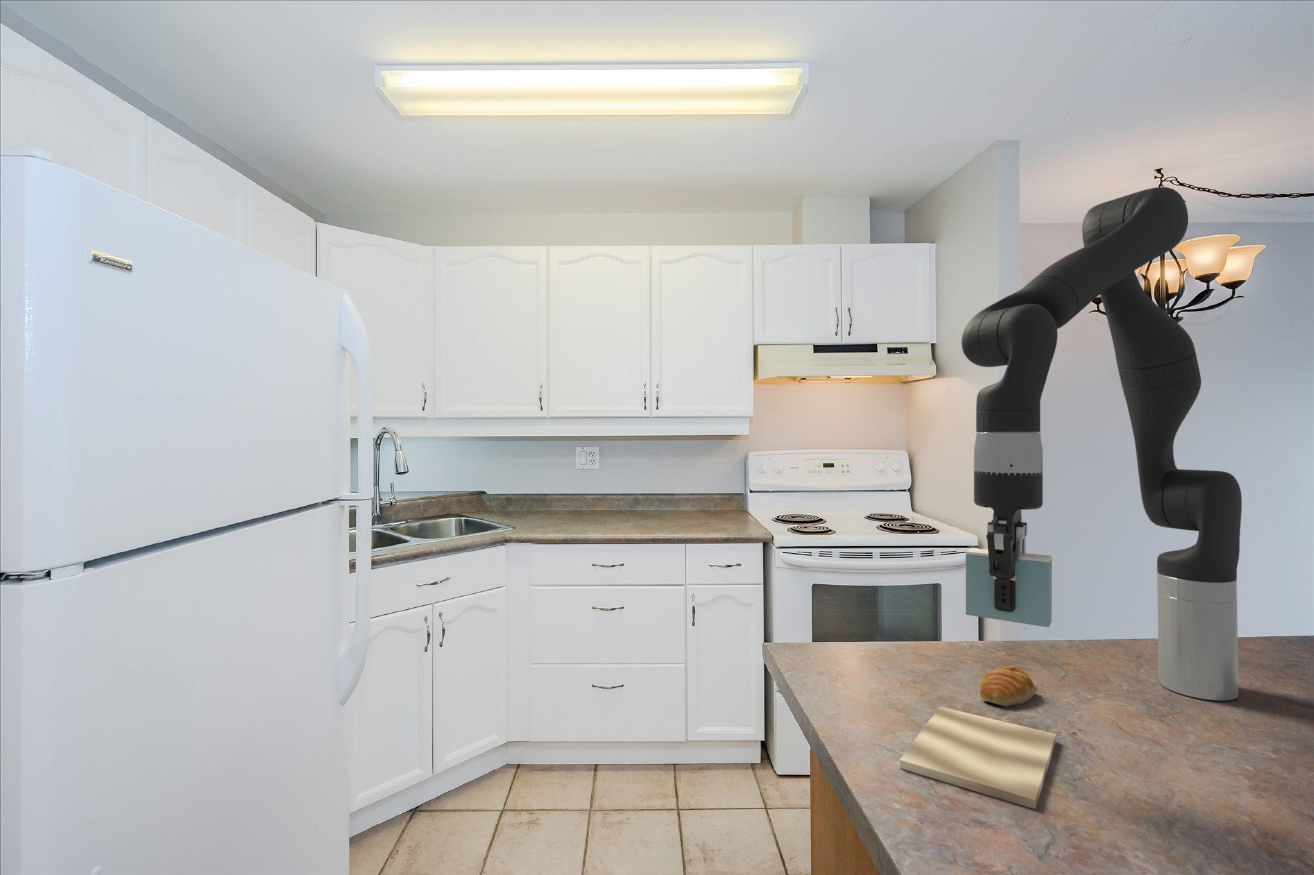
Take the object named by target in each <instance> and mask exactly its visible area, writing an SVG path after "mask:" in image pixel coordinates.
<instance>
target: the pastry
mask: <svg viewBox="0 0 1314 875" xmlns="http://www.w3.org/2000/svg"><path fill="white" fill-rule="evenodd" d="M979 684H980V685H979V688H980V690H979V696H980V698H981V700H982V701H983V702H989V703H992V704H995V705H999V706H1003V707H1007V708H1008V707H1010V706H1016V705H1023V704H1024V703H1026V702H1027V701H1029V700H1031V699H1032V698H1033V697H1034V695H1035V694H1036V692H1038V688H1037V686H1036V685H1035V683H1034V682H1033V679H1032V678H1031V677H1030V676H1029V674H1028V672H1026V671H1025V670H1023V669H1022V668H1021V667H1018V666H1014V665H1007V666H1004V665H1003V666H1002V665H1000V666H999V667H998V668H995V669H994V670H991V671H989V672H986V675H985V676H984V677H982V679H981V681H980V683H979Z"/></svg>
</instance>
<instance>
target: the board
mask: <svg viewBox="0 0 1314 875" xmlns="http://www.w3.org/2000/svg"><path fill="white" fill-rule="evenodd" d="M1056 744H1057V733H1053V732H1049V731H1045V730H1040V729H1036V728H1032V727H1028V726H1024V725H1019V724H1016V723H1011V722H1007V721H1002V720H997V719H994V718H990V717H985V716H980V715H977V714H973V713H968V712H964V711H960V710H956V709H951V708H947V707H944V706H943V707H942V706H939V707H938V708H937V709H936V711H935V712H934V714H933V715H932V716H931V718H930V719H929V720H928V721H927V723H926V724H925V726H924V727H923V728H922V730H921V731H920V732H919V733H918V735H917V736H916V738H915V739H914V740H913V742H912V743H911V744H910V746H909V747H908V748H907V750H906V751H905V752H904V753H903V755H902V756H901V758H900V759H899V769H902V770H904V771H908V772H912V773H915V774H918V775H921V776H924V777H928V778H931V779H934V780H937V781H940V782H943V783H948V784H949V785H950V784H951V785H953V786H954V785H955V786H958V787H960V788H964V789H968V790H971V791H974V792H977V793H981V794H984V795H986V796H990V797H994V798H996V799H1000V800H1003V801H1007V802H1011V803H1014V804H1016V805H1020V806H1023V807H1027V808H1030V809H1033V810H1036V809H1037V806H1038V802H1039V799H1040V796H1041V793H1042V790H1043V789H1042V788H1043V786H1044V782H1045V780H1046V776H1047V772H1048V770H1049V766H1050V764H1051V763H1050V762H1051V760H1052V758H1053V753H1054V750H1055V747H1056Z"/></svg>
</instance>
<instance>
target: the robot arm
mask: <svg viewBox="0 0 1314 875" xmlns="http://www.w3.org/2000/svg"><path fill="white" fill-rule="evenodd" d="M1188 211H1189V210H1188V207H1187V204H1186V202H1185V199H1184V198H1183V197H1182V195H1181V194H1180V193H1179V192H1178V191H1177V190H1176V189H1174V188H1171V187H1167V186H1156V187H1151V188H1146V189H1143V190H1140V191H1136V192H1133V193H1131V194H1127V195H1123V196H1121V197H1117V198H1115V199H1112V200H1109V201H1108V200H1107V201H1105V202H1101V203H1099V204H1096V205H1095V206H1092V207H1091V208H1090V209H1089V210H1087V212H1086V213H1085V215H1084V218H1083V220H1082V225H1081V226H1082V228H1081V229H1082V230H1081V234H1082V243H1083V244H1082V245H1083V247H1082V248H1079V249H1078V250H1076V251H1073V252H1072V253H1070V254H1067V255H1065V256H1064V257H1061V258H1060V259H1058V260H1057V261H1055V262H1054V263H1052V264H1051V265H1049V266H1048V267H1046V268H1045V269H1044V270H1041V272H1040V273H1039V274H1038V275H1036V276H1035V277H1033V278H1032V279H1031V280H1030V281H1029V282H1027V283H1026V284H1025V285H1024V286H1023V287H1022V288H1021V289H1020V290H1017V291H1015V292H1014V293H1011V294H1009V295H1007V296H1005V297H1003V298H1002V299H1000V300H997V301H996V302H994V303H992V304H991V305H989V306H987V307H985V308H984V309H981V310H980V311H979V312H978V313H976V314H975V315H974V316H972V318H971V319H970V320H969V321H968V322H967V323H966V326H965V327H964V330H963V332H962V334H961V348H962V349H961V350H962V353H963V355H964V356H965V357H966V358H967V360H968V361H970V363H972V364H973V365H976V366H979V367H983V368H995V367H1004V366H1006V369H1005V371H1004V374H1003V376H1002V378H1001V379H1000V380H999V381H998V382H995V383H993V384H991V385H987V386H985V387H983V388H982V389H980V390H979V391H978V393H977V395H976V405H975V406H976V407H975V408H976V410H975V412H976V413H975V431H976V434H975V441H974V449H973V503H974V504H975V506H978V507H981V508H988V509H989V508H990V509H992V510H993V514H992V519H991V521H988V522H987V527H986V536H985V537H986V540H987V550H988V555H989V568H990V569H989V573H990V576H993V579H995V580H994V607H995V609H996V610H999V611H1006V612H1013V611H1014V610H1015V608H1016V579H1017V575H1016V572H1017V562H1020V561H1021V557H1022V553H1027V549H1026V547H1027V546H1026V544H1027V543H1026V537H1027V535H1028V531H1029V530H1028V522H1026V521H1025V522H1024V521H1023V519H1022V511H1025V510H1028V511H1029V510H1038V509H1040V508H1042V506H1043V504H1044V503H1043V502H1044V500H1043V499H1044V498H1043V497H1044V496H1043V494H1044V493H1043V491H1044V489H1043V488H1044V481H1043V480H1044V474H1043V473H1044V471H1043V470H1044V468H1043V467H1044V466H1043V465H1044V464H1043V462H1044V460H1043V459H1044V457H1043V456H1044V454H1043V453H1044V452H1043V450H1044V449H1043V445H1042V444H1043V443H1042V436H1041V399H1042V396H1043V392H1044V389H1045V386H1046V382H1047V379H1048V374H1049V371H1050V368H1051V365H1052V362H1053V358H1054V356H1055V353H1056V348H1057V346H1058V345H1057V344H1058V330H1059V329H1061V328H1062V327H1064V326H1065V325H1067V324H1068V323H1069V322H1070V321H1071V320H1072V319H1074V318H1075V317H1076V316H1077V315H1078V314H1079V313H1080V312H1081V311H1082V310H1084V309H1085V308H1086V307H1087V306H1088V305H1089V304H1091V302H1092V301H1094V300H1095V299H1096V298H1098V296H1099V297H1100V298H1101V303H1102V305H1103V308H1104V311H1105V315H1106V319H1107V324H1108V327H1109V332H1110V337H1111V340H1112V345H1113V349H1114V354H1115V360H1116V366H1117V370H1118V374H1119V380H1120V384H1121V388H1122V391H1123V396H1124V399H1125V401H1126V402H1125V403H1126V406H1127V412H1128V414H1129V420H1130V424H1131V429H1132V435H1133V439H1134V446H1135V454H1136V463H1137V471H1138V472H1137V473H1138V479H1139V480H1138V481H1139V488H1140V495H1141V496H1140V497H1141V501H1142V506H1143V509H1144V512H1145V514H1146V516H1147V517H1148V519H1149V521H1150V522H1151V523H1152V524H1154V525H1156V526H1158V527H1161V528H1162V527H1163V528H1169V529H1175V530H1176V529H1177V530H1181V531H1183V530H1184V531H1191V532H1198V535H1197V539H1196V543H1195V544H1193V545H1192V546H1189V547H1186V548H1182V549H1176V550H1169V551H1165V552H1162V553H1160V554H1159V555H1158V556H1157V560H1156V585H1157V586H1156V587H1157V589H1156V590H1157V591H1156V592H1157V654H1158V656H1157V658H1158V659H1157V660H1158V661H1157V662H1158V664H1157V665H1158V666H1157V669H1158V683H1159V684H1160V685H1161V686H1162V687H1164V688H1165V689H1167V690H1170V691H1171V692H1175V693H1178V694H1181V695H1182V696H1183V695H1184V696H1188V697H1192V698H1196V699H1197V698H1198V699H1201V700H1209V701H1222V702H1223V701H1231V700H1232V701H1233V700H1236V699H1237V698H1238V696H1239V657H1238V656H1239V646H1238V644H1239V642H1238V636H1239V635H1238V592H1237V591H1238V585H1237V584H1238V583H1237V581H1238V580H1237V579H1238V576H1237V574H1238V572H1237V571H1238V564H1239V561H1240V550H1241V548H1240V546H1241V543H1240V542H1241V541H1240V539H1241V525H1242V524H1241V522H1242V512H1243V511H1242V509H1243V508H1242V507H1243V505H1242V504H1243V501H1242V500H1243V498H1242V497H1243V496H1242V491H1241V486H1240V484H1239V482H1238V480H1237V478H1236V477H1235V476H1234V475H1233V474H1232V473H1229V472H1227V471H1222V470H1208V469H1207V470H1204V469H1203V470H1202V469H1178V467H1177V465H1176V462H1175V457H1174V442H1175V438H1176V435H1177V433H1178V431H1179V429H1180V428H1181V425H1182V423H1183V421H1184V420H1185V419H1186V417H1187V415H1188V414H1189V412H1190V411H1191V408H1192V407H1193V405H1194V404H1195V401H1196V400H1197V398H1198V396H1199V394H1200V391H1201V387H1202V378H1201V372H1200V367H1199V361H1198V357H1197V353H1196V348H1195V344H1194V342H1193V339H1192V338H1191V336H1190V335H1189V333H1188V332H1187V331H1186V330H1185V328H1184V327H1183V326H1181V325H1180V324H1179V323H1178V322H1177V321H1176V320H1175V318H1173V317H1171V315H1169V314H1168V313H1167V312H1166V311H1165V310H1164V309H1163V308H1161V307H1160V306H1159V305H1157V304H1156V303H1155V302H1154V300H1152V299H1151V297H1149V296H1148V294H1147V293H1146V292H1145V290H1144V288H1143V287H1142V285H1141V284H1140V281H1139V279H1138V276H1137V273H1136V272H1135V271H1136V270H1138V269H1139V268H1141V267H1143V266H1145V265H1146V264H1147V263H1149V262H1151V261H1153V260H1155V259H1157V258H1159V257H1161V256H1162V255H1165V254H1166V253H1168V252H1169V251H1172V250H1173V249H1175V248H1176V247H1177V246H1178V245H1179V244H1180V243H1181V241H1182V240H1183V238H1184V237H1185V234H1186V232H1187V230H1188V225H1189V212H1188ZM1013 553H1015V554H1013ZM999 561H1001V562H1006V563H1007V564H1008V568H1003V567H999Z"/></svg>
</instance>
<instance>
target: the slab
mask: <svg viewBox="0 0 1314 875" xmlns="http://www.w3.org/2000/svg"><path fill="white" fill-rule="evenodd" d="M1013 554H1015V553H1013ZM1052 558H1053V557H1052V555H1050V554H1049V555H1047V554H1037V553H1027V552H1026V553H1022V557H1021V561H1020V562H1017V572H1016V575H1017V579H1016V608H1015V610H1014V611H1013V612H1006V611H999V610H996V609H995V607H994V580H995V579H993V576H990V573H989V569H990V568H989V555H988V549H986V548H974V547H970V548H969V549H967V550H966V551H965V615H966V616H973V617H979V618H983V619H984V618H985V619H993V620H998V621H1005V622H1011V623H1017V624H1024V625H1030V626H1036V627H1037V626H1038V627H1044V628H1049V627H1050V626H1051V624H1052V622H1053V621H1052V617H1053V616H1052V615H1053V614H1052V610H1053V608H1052V607H1053V604H1052V602H1053V601H1052V599H1053V598H1052V597H1053V595H1052V594H1053V590H1052V589H1053V588H1052V587H1053V584H1052V583H1053V581H1052V580H1053V579H1052V578H1053V576H1052V574H1053V573H1052V572H1053V571H1052V570H1053V569H1052V568H1053V567H1052V566H1053V565H1052V564H1053V563H1052V561H1053V560H1052ZM999 567H1003V568H1008V564H1007V563H1006V562H1001V561H999Z"/></svg>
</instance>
